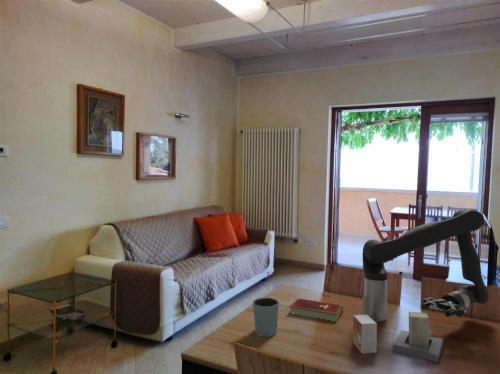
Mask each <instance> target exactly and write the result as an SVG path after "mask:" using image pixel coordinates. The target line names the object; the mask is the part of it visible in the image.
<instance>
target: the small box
mask: <svg viewBox="0 0 500 374" xmlns="http://www.w3.org/2000/svg"><path fill="white" fill-rule="evenodd" d="M352 316H353V317H352V318H353V319H352V322H353V324H352V343H353V345H354V346H355V347H356V348H357V350H358V351H359V352H361V353H362V354H377V337H378V336H377V335H378V332H377V331H378V330H377V329H378V324H377V321H373V320H372V319H371V318H370V317H369V316H368V315H363V314H354V315H352ZM361 353H360V354H361Z"/></svg>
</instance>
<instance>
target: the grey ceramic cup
mask: <svg viewBox="0 0 500 374" xmlns="http://www.w3.org/2000/svg"><path fill="white" fill-rule="evenodd" d="M279 305H280V302H279V300H278V299H276V298H272V297H259V298H255V299H254V300H253V301H252V308H253V316H254V317H253V319H254V328H255V329H254V332H255V333H257V334H256V335H258V334H259V335H258V336H260V335H262V336H261V337H264V336H269V337H272V336H271V335H273V336H275V335H277V332H278V320H279V319H278V318H279V307H280V306H279ZM274 334H275V335H274Z"/></svg>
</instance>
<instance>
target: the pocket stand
mask: <svg viewBox="0 0 500 374" xmlns="http://www.w3.org/2000/svg"><path fill="white" fill-rule="evenodd" d="M443 346H444V338H440V337H435V336H431V335H429V349H427V348H423V347H418V346H414V345H410V344H409V330H404V329H401V330H400V331H399V332H398V335H397V337H396V339H395V340H394V342H393V343H392V352H395V353H398V354H402V355H406V356H411V357H413V358H414V357H415V358H417V359H418V358H419V359H422V360H426V361H430V362H434V363H439V360H440V356H441V354H442V351H443Z"/></svg>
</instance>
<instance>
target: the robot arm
mask: <svg viewBox="0 0 500 374" xmlns="http://www.w3.org/2000/svg"><path fill="white" fill-rule="evenodd" d="M484 223H485V217H484V215H483V214H482V213H481V212H480V211H478V210H475V209H459V210H456V211H454V213H453V215H452V217H451V218H449V219H448V218H447V219H443V220H437V221H432V222H427V223H424V224H420V225H417V226H414V227H412V228H410V229H408V230H406V231H405V232H404V233H403V234H401V235H400V236H399V237H397V238H394V239H389V240H386V241H380V240H379V239H378V240H377V239H368V240H367V241H366V242H365V243H364V245H363V248H362V269H363V273H364V287H363V288H364V294H363V295H362V315H368V316H369V317H370V318H371V319H372V320H373V321H374V322H376V323H377V322H386V321H387V320H388V272H387V270H386V268H385V264H386V263H387V262H390V261H392V260H394V259H396V258H399V257H400V256H402V255H405V254H409V253H411V252H415V251H418V250H422V249H424V248H427V247H429V246H433V245H436V244H438V243H441V242H443V241H446V240H448V239H450V238H453V237H456V241H457V245H458V250H459V255H460V262H461V263H460V264H461V272H462V278H463V279H464V280H466V281H469V282H471V283H473V285H467V284H465V285H463V284H462V285H461V286H460V287H459V289H458V290H455V291H451V292H448V293H446V294H444V295H443V296H441V298H440V299H434V297H433V296H430V297H427V298H423V299H422V304H421V305H422V306H421V308H422V310H424V311H425V310H428V309H432V310H433V309H434V310H440V311H444V312H445V315H444V316H445V317H447V318H448V317H452V316H457V317H459V318H462V317H463V316H465V315H466V314H467V309H468V308H469V307H471V306H473V305H475V304H479V305H485V304H487V303H488V301H489V298H490V297H489V296H490V294H489V291H488V289H487V286H486V285H485V284H486V283H485V281H484V278H483V275H482V267H481V260H480V257H479V255H478V252H477V250H476V248H475V246H474V243H473V239H472V232H476V231H478V230H479V229H481V228H482V227H483V226H484Z"/></svg>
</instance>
